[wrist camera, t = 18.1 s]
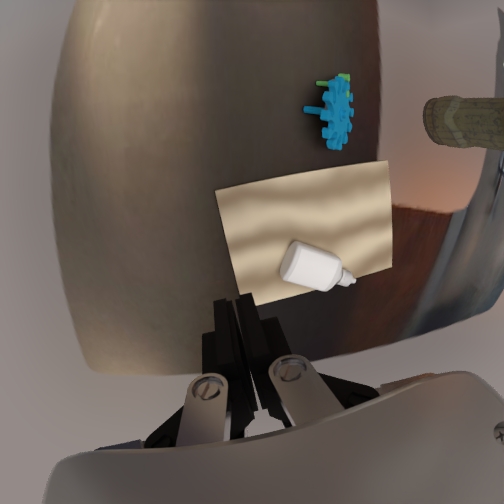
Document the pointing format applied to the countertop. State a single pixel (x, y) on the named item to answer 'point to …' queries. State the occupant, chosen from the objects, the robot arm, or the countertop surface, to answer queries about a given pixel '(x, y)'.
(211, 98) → the countertop surface
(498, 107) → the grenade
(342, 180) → the beige flat sheet
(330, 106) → the gear
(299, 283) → the eye dropper bottle
